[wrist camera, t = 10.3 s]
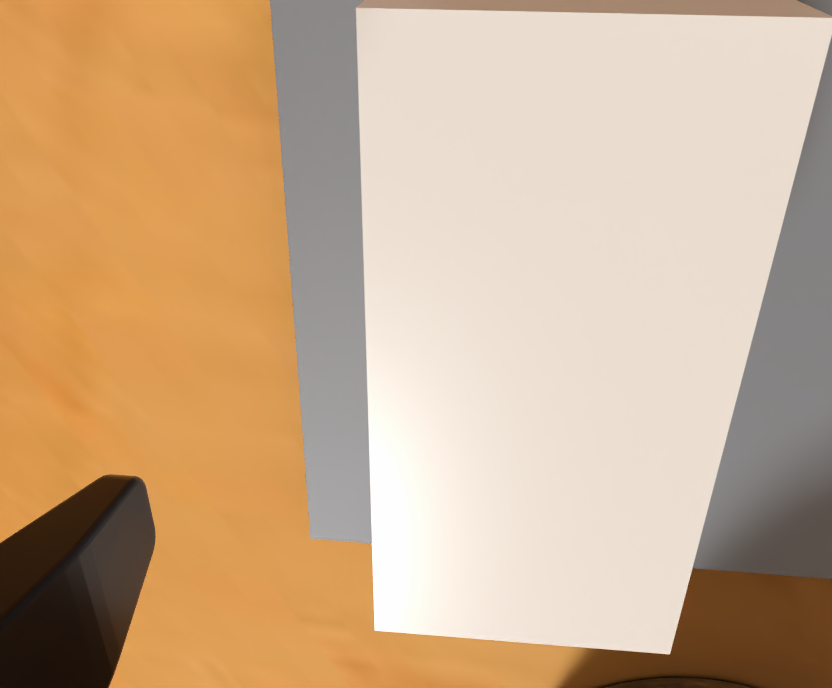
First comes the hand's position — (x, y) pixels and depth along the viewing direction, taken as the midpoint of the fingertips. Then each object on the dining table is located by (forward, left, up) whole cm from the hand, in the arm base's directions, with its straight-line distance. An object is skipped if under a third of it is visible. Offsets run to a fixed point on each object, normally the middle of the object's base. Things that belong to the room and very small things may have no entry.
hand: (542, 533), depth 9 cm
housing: (0, 0, -9) cm, 9 cm away
